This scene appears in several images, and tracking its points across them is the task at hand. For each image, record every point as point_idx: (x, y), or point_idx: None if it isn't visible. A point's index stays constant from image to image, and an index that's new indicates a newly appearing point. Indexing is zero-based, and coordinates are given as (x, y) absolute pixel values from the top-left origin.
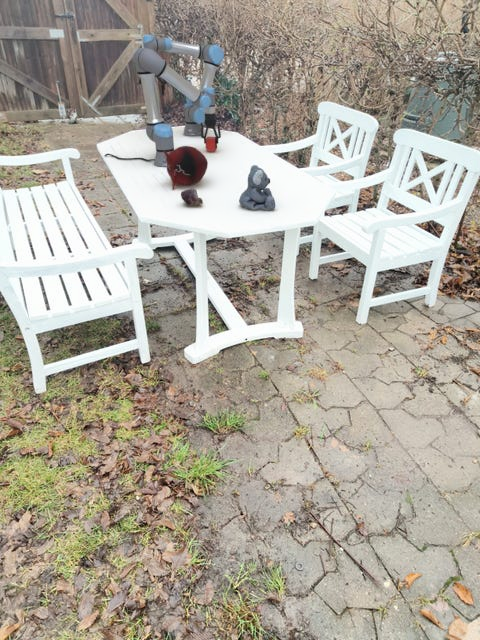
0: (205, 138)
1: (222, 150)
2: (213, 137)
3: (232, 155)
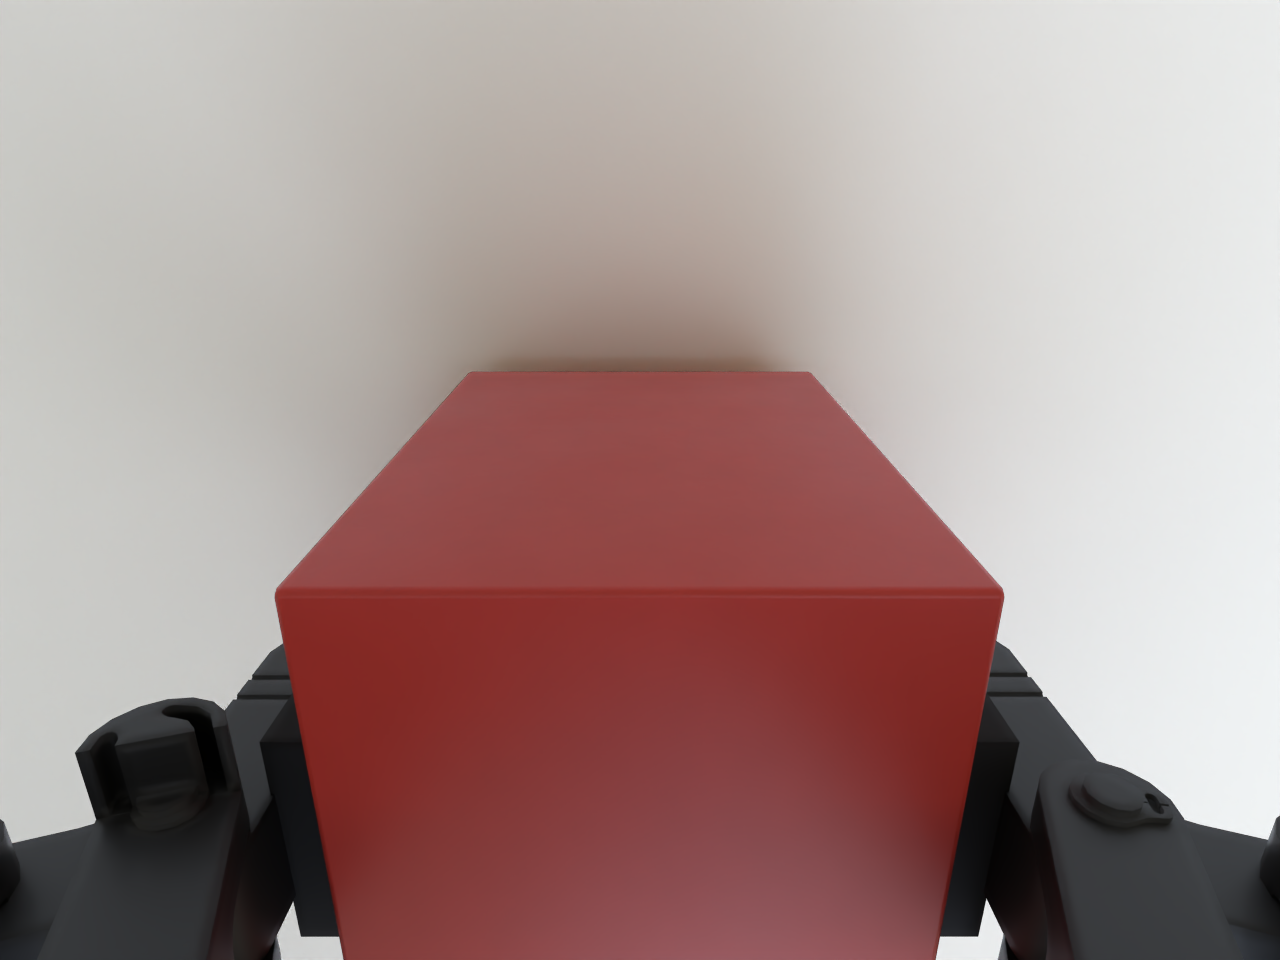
0: (277, 911)
1: (1004, 290)
2: (800, 815)
3: (1276, 810)
